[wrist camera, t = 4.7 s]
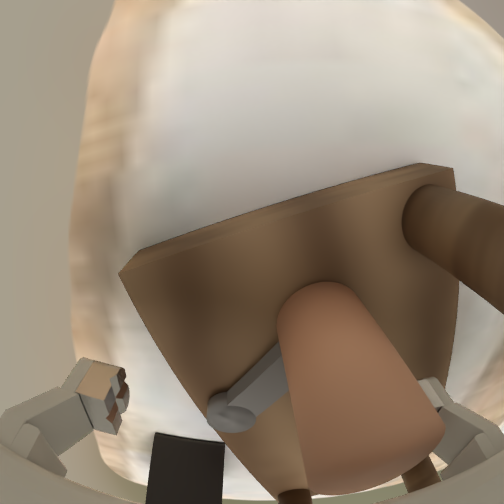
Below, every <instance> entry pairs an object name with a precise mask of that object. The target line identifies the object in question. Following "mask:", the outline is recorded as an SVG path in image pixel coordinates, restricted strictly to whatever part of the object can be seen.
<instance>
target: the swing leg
mask: <svg viewBox="0 0 504 504" xmlns="http://www.w3.org/2000/svg"><path fill="white" fill-rule="evenodd" d="M276 328H277V334H278V339H279V342H278V343H277V344H276V345H275V346H274V347H273V348H272V349H271V350H270V351H269V352H268V353H267V354H266V355H265V356H264V357H263V358H262V359H261V360H260V361H259V362H258V363H257V364H256V365H255V366H254V367H253V368H252V369H251V370H250V371H249V372H247V373H246V374H245V375H244V376H243V377H242V378H241V379H240V380H239V381H238V382H237V383H236V384H235V385H234V386H233V387H232V388H231V389H230V390H228V391H227V392H222V393H219V394H216V395H214V396H213V397H211V398H210V400H209V401H208V406H207V417H206V419H207V422H208V424H209V425H210V426H211V427H212V428H214V429H216V430H218V431H221V432H226V433H239V432H243V431H246V430H248V429H250V428H251V427H253V426H254V424H255V422H256V417H257V416H258V415H259V414H261V413H262V412H263V411H265V410H266V409H267V408H268V407H270V406H271V405H272V404H273V403H274V402H276V401H277V400H278V399H279V398H280V397H282V396H283V395H284V394H285V393H286V392H288V391H289V393H290V398H291V402H292V407H293V412H294V417H295V422H296V427H297V432H298V438H299V443H300V448H301V453H302V458H303V463H304V468H305V473H306V478H307V483H308V487H309V489H310V490H311V491H313V492H315V493H317V494H321V495H344V494H350V493H355V492H360V491H363V490H367V489H370V488H373V487H376V486H378V485H381V484H383V483H386V482H388V481H390V480H392V479H394V478H396V477H398V476H400V475H402V474H403V473H405V472H407V471H408V470H410V469H411V468H413V467H414V466H416V465H417V464H418V463H420V462H421V461H422V460H423V459H425V458H426V457H427V456H428V455H429V454H430V453H431V452H432V451H433V450H434V449H435V448H436V447H437V445H438V444H439V443H440V441H441V440H442V438H443V436H444V433H445V429H446V427H445V424H444V422H443V421H442V419H441V417H440V416H439V414H438V412H437V411H436V409H435V408H434V406H433V405H432V403H431V401H430V400H429V398H428V397H427V395H426V394H425V392H424V391H423V389H422V387H421V386H420V384H419V383H418V381H417V380H416V378H415V377H414V375H413V374H412V372H411V371H410V369H409V368H408V366H407V365H406V364H405V362H404V361H403V359H402V358H401V356H400V355H399V353H398V352H397V350H396V349H395V348H394V346H393V345H392V343H391V342H390V340H389V339H388V338H387V336H386V335H385V333H384V332H383V331H382V329H381V328H380V326H379V325H378V324H377V322H376V321H375V320H374V318H373V317H372V315H371V314H370V313H369V311H368V310H367V309H366V307H365V306H364V305H363V303H362V302H361V301H360V299H359V298H358V297H357V295H356V294H355V293H354V292H353V291H352V290H351V289H350V288H348V287H347V286H345V285H343V284H340V283H336V282H318V283H314V284H311V285H308V286H306V287H304V288H302V289H300V290H298V291H297V292H295V293H294V294H293V295H292V296H291V297H290V298H289V299H288V300H287V301H286V302H285V303H284V305H283V306H282V308H281V309H280V312H279V314H278V317H277V323H276Z"/></svg>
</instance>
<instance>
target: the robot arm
mask: <svg viewBox="0 0 504 504" xmlns="http://www.w3.org/2000/svg"><path fill="white" fill-rule="evenodd" d="M125 378H126V373H125V369H124V368H122V367H118V366H114V365H110V364H107V363H103V362H99V361H95V360H91V359H88V358H84V357H83V358H81V359H80V360H79V361H78V362H77V364H76V366H75V367H74V368H73V370H72V371H71V373H70V375H69V376H68V377H67V379H66V381H65V382H64V384H63V385H62V387H61V388H60V387H55V388H53V389H51V390H49V391H47V392H45V393H42V394H41V395H38V396H36V397H34V398H31V399H29V400H27V401H25V402H22V403H21V404H18V405H16V406H13V407H11V408H9V409H7V410H5V412H4V413H3V415H2V416H1V418H0V504H142V503H138V502H134V501H130V500H126V499H123V498H120V497H116V496H113V495H109V494H107V493H103V492H100V491H97V490H94V489H92V488H89V487H86V486H84V485H81V484H79V483H76V482H74V481H71V480H69V479H66V478H65V475H66V473H67V469H66V467H65V465H64V464H63V463H62V462H61V460H60V459H59V458H58V456H59V455H61V454H62V453H63V452H65V451H66V450H68V449H69V448H70V447H72V446H73V445H75V444H76V443H77V442H79V441H80V440H81V439H83V438H84V437H86V436H87V435H88V434H90V433H91V432H92V431H94V430H93V429H95V430H98V431H102V432H106V433H109V434H113V435H117V433H118V430H119V428H120V425H121V423H122V419H121V415H120V414H122V413H124V412H125V411H126V409H127V407H128V403H129V387H128V385H127V384H126V383H125V382H124V380H125ZM416 380H417V381H418V383H419V384H420V386H421V387H422V389H423V391H424V392H425V394H426V395H427V397H428V398H429V400H430V401H431V403H432V405H433V406H434V408H435V409H436V411H437V412H438V414H439V416H440V417H441V419H442V421H443V422H444V424H445V427H446V429H445V433H444V436H443V438H442V440H441V441H440V443H439V444H438V445H437V447H436V448H435V449H434V450H433V451H432V452H433V453H435V454H436V455H437V456H438V457H439V458H441V459H442V460H443V461H444V462H445V463H447V464H448V466H447V467H446V468H445V469H444V470H443V471H442V472H441V474H440V475H441V477H442V479H443V481H441V482H438V483H436V484H433V485H431V486H428V487H425V488H423V489H420V490H417V491H414V492H411V493H408V494H405V495H402V496H398V497H395V498H392V499H388V500H384V501H381V502H377V503H373V504H504V434H503V433H502V431H501V430H500V428H499V427H498V425H496V424H494V423H493V422H491V421H489V420H487V419H485V418H483V417H482V416H480V415H478V414H476V413H474V412H473V411H471V410H469V409H467V408H465V407H464V406H462V405H460V404H458V403H454V402H453V401H452V399H451V398H450V396H449V395H448V393H447V392H446V391H445V389H444V388H443V386H442V385H441V383H440V382H439V381H438V379H437V378H435V377H429V378H424V379H416Z"/></svg>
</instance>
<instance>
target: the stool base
mask: <svg viewBox="0 0 504 504" xmlns="http://www.w3.org/2000/svg"><path fill="white" fill-rule="evenodd" d="M118 274H119V277H120V279H121V281H122V283H123V285H124V287H125V289H126V291H127V292H128V294H129V296H130V298H131V300H132V302H133V304H134V306H135V308H136V310H137V311H138V313H139V315H140V317H141V319H142V321H143V322H144V324H145V326H146V328H147V329H148V331H149V333H150V335H151V336H152V338H153V340H154V341H155V343H156V345H157V346H158V348H159V350H160V351H161V353H162V355H163V356H164V358H165V359H166V361H167V363H168V364H169V366H170V367H171V369H172V370H173V372H174V374H175V375H176V377H177V378H178V380H179V381H180V383H181V384H182V386H183V387H184V389H185V390H186V391H187V393H188V394H189V396H190V397H191V399H192V400H193V401H194V403H195V404H196V406H197V407H198V408H199V410H200V411H201V413H202V414H203V415H204V417H205V418H206V417H207V406H208V401H209V400H210V398H211V397H213V396H214V395H216V394H219V393H222V392H227V391H228V390H230V389H231V388H232V387H233V386H234V385H235V384H236V383H237V382H238V381H239V380H240V379H241V378H242V377H243V376H244V375H245V374H246V373H247V372H249V371H250V370H251V369H252V368H253V367H254V366H255V365H256V364H257V363H258V362H259V361H260V360H261V359H262V358H263V357H264V356H265V355H266V354H267V353H268V352H269V351H270V350H271V349H272V348H273V347H274V346H275V345H276V344H277V343H278V342H279V339H278V334H277V328H276V323H277V317H278V314H279V312H280V309H281V308H282V306H283V305H284V303H285V302H286V301H287V300H288V299H289V298H290V297H291V296H292V295H293V294H294V293H295V292H297V291H298V290H300V289H302V288H304V287H306V286H308V285H311V284H314V283H318V282H336V283H340V284H343V285H345V286H347V287H348V288H350V289H351V290H352V291H353V292H354V293H355V294H356V295H357V297H358V298H359V299H360V301H361V302H362V303H363V305H364V306H365V307H366V309H367V310H368V311H369V313H370V314H371V315H372V317H373V318H374V320H375V321H376V322H377V324H378V325H379V326H380V328H381V329H382V331H383V332H384V333H385V335H386V336H387V338H388V339H389V340H390V342H391V343H392V345H393V346H394V348H395V349H396V350H397V352H398V353H399V355H400V356H401V358H402V359H403V361H404V362H405V364H406V365H407V366H408V368H409V369H410V371H411V372H412V374H413V375H414V377H415V378H416V379H424V378H429V377H435V378H437V379H438V381H439V382H440V383H441V385H442V386H443V388H444V389H445V385H446V380H447V376H448V371H449V366H450V360H451V355H452V348H453V342H454V335H455V327H456V318H457V307H458V294H459V280H460V281H461V282H462V283H464V284H465V285H466V286H468V287H469V288H470V289H472V290H473V291H474V292H476V293H477V294H478V295H480V296H481V297H482V298H484V299H485V300H486V301H487V302H489V303H490V304H491V305H492V306H494V307H495V308H496V309H497V310H499V311H500V312H501V313H502V314H504V206H503V205H500V204H497V203H494V202H491V201H488V200H485V199H482V198H479V197H475V196H472V195H469V194H466V193H462V192H459V191H456V186H455V178H454V171H453V168H449V167H443V166H437V165H431V164H424V163H417V164H413V165H409V166H406V167H402V168H398V169H394V170H390V171H387V172H383V173H379V174H376V175H372V176H368V177H365V178H361V179H358V180H354V181H350V182H347V183H343V184H340V185H337V186H333V187H330V188H326V189H323V190H319V191H316V192H313V193H309V194H306V195H303V196H300V197H296V198H293V199H290V200H287V201H283V202H280V203H277V204H274V205H271V206H267V207H264V208H261V209H258V210H255V211H252V212H249V213H246V214H243V215H240V216H237V217H234V218H231V219H228V220H225V221H222V222H219V223H216V224H213V225H210V226H207V227H204V228H201V229H198V230H195V231H192V232H189V233H187V234H184V235H181V236H178V237H175V238H172V239H170V240H167V241H164V242H161V243H158V244H156V245H153V246H150V247H147V248H145V249H142V250H139V251H138V252H137V253H136V254H135V255H134V256H133V258H132V259H131V260H130V261H129V262H128V263H127V264H126V265H125V266H124V268H123V269H122V270H121V271H120V272H119V273H118ZM213 429H214V428H213ZM214 430H215V431H216V432H217V434H218V435H219V436H220V437H221V439H222V440H223V441H224V442H225V444H226V445H227V446H228V447H229V449H230V450H231V451H232V452H233V453H234V455H235V456H236V457H237V458H238V459H239V460H240V462H241V463H242V464H243V465H244V466H245V467H246V469H247V470H248V471H249V472H250V473H251V474H252V475H253V476H254V477H255V479H256V480H257V481H258V482H259V483H260V484H261V485H262V486H263V487H264V488H265V489H266V490H267V491H268V492H269V493H270V494H271V495H272V496H273V497H274V498H275V499H276V500H277V501H278V504H312V498H311V496H314V495H318V494H317V493H315V492H313V491H311V490H310V489H309V487H308V483H307V478H306V473H305V468H304V463H303V458H302V453H301V448H300V443H299V438H298V432H297V427H296V422H295V417H294V412H293V407H292V402H291V398H290V393H289V391H288V392H286V393H285V394H284V395H283V396H282V397H280V398H279V399H278V400H277V401H276V402H274V403H273V404H272V405H271V406H270V407H268V408H267V409H266V410H265V411H263V412H262V413H261V414H259V415H258V416H257V417H256V422H255V424H254V426H253V427H251V428H250V429H248V430H246V431H243V432H239V433H226V432H221V431H218V430H216V429H214ZM401 476H402V479H403V481H404V483H405V486H406V488H407V491H408V493H411V492H414V491H417V490H420V489H423V488H425V487H428V486H431V485H433V484H436V483H438V482H441V480H440V478H439V476H438V473H437V471H436V469H435V467H434V465H433V463H432V461H431V459H430V457H429V455H428V456H427V457H426V458H425V459H423V460H422V461H421V462H420V463H418V464H417V465H416V466H414V467H413V468H411V469H410V470H408V471H407V472H405V473H403V474H402V475H401Z"/></svg>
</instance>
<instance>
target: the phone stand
mask: <svg viewBox="0 0 504 504" xmlns="http://www.w3.org/2000/svg"><path fill="white" fill-rule="evenodd" d="M224 453H225V443H215V442H207V441H199V440H192V439H185V438H179V437H173V436H168V435H162V434H157V433H155V436H154V443H153V449H152V456H151V463H150V470H149V478H148V486H147V495H146V504H222V490H223V471H224Z"/></svg>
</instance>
